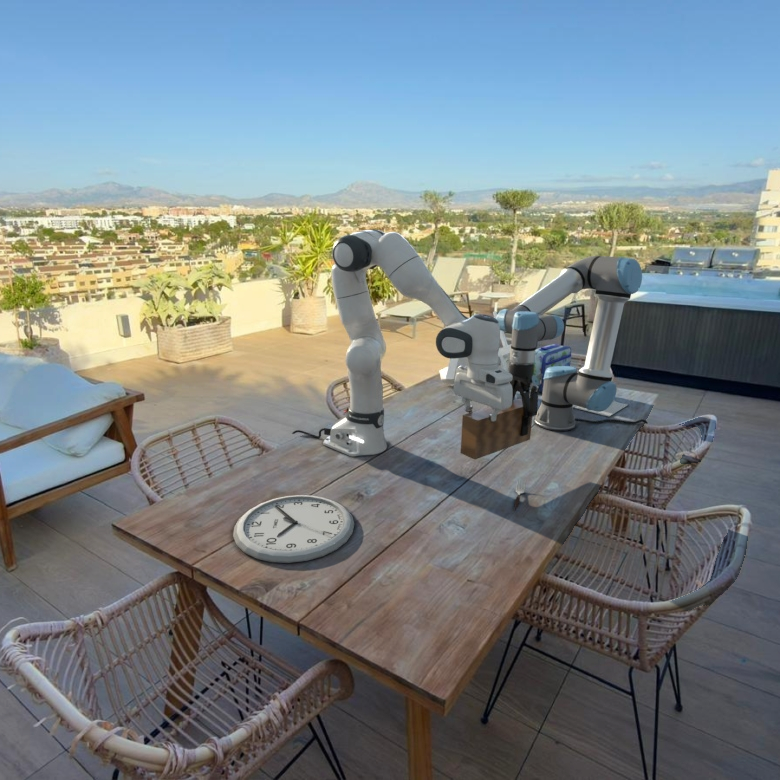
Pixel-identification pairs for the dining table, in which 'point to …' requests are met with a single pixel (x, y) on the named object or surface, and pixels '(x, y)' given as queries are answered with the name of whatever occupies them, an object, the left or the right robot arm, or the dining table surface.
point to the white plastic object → (450, 371)
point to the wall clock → (293, 529)
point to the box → (492, 430)
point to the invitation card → (609, 411)
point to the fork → (519, 491)
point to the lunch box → (549, 361)
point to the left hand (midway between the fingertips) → (480, 416)
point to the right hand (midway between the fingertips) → (515, 431)
